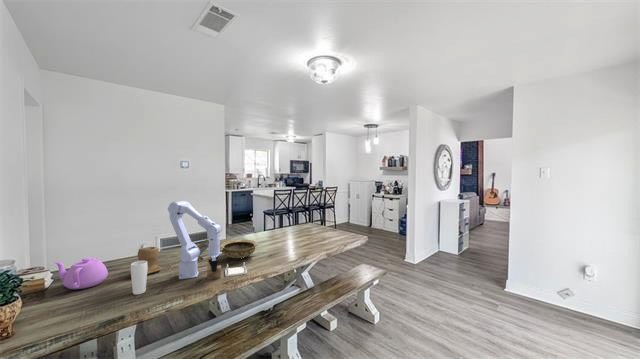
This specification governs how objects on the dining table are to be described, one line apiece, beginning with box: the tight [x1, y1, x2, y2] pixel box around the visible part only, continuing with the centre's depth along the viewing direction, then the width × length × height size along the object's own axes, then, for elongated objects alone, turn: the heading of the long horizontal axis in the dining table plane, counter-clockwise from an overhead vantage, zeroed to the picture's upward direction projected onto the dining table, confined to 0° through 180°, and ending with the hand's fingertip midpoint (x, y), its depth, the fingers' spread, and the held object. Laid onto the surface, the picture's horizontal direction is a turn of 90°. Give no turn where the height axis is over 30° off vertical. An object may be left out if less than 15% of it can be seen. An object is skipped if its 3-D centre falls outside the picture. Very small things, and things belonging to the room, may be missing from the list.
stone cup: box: [137, 246, 163, 275], centre depth 145 cm, size 15×12×15 cm
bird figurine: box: [196, 238, 209, 261], centre depth 167 cm, size 13×10×20 cm
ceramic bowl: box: [220, 238, 259, 260], centre depth 173 cm, size 30×24×10 cm
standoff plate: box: [224, 261, 248, 278], centre depth 149 cm, size 12×10×4 cm
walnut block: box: [206, 264, 222, 281], centre depth 141 cm, size 7×4×6 cm, turn 111°
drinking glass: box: [130, 260, 148, 296], centre depth 122 cm, size 7×7×15 cm
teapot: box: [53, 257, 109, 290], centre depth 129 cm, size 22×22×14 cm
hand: (214, 269), depth 141 cm, fingers open, 7 cm apart
